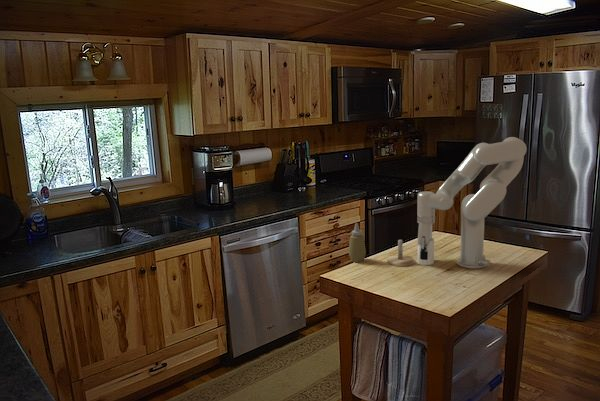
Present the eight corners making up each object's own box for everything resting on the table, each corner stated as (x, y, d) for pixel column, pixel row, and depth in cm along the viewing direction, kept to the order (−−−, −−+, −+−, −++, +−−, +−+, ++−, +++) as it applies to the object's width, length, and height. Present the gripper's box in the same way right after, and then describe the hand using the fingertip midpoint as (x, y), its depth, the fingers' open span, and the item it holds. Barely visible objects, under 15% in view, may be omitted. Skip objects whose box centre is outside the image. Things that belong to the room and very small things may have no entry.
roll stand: (419, 262, 220) (419, 240, 218) (400, 268, 213) (400, 245, 211) (399, 256, 230) (399, 235, 228) (381, 261, 223) (381, 240, 221)
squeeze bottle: (368, 259, 228) (368, 222, 224) (361, 264, 221) (360, 226, 217) (353, 256, 232) (352, 220, 228) (345, 261, 225) (344, 224, 222)
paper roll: (436, 262, 219) (437, 239, 216) (426, 266, 215) (426, 242, 212) (424, 258, 224) (424, 236, 222) (414, 262, 220) (414, 239, 218)
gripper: (421, 214, 225) (421, 250, 228) (413, 223, 209) (413, 262, 213) (437, 215, 221) (437, 251, 225) (430, 224, 206) (430, 263, 210)
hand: (425, 256), depth 219 cm, fingers closed on paper roll, 7 cm apart
